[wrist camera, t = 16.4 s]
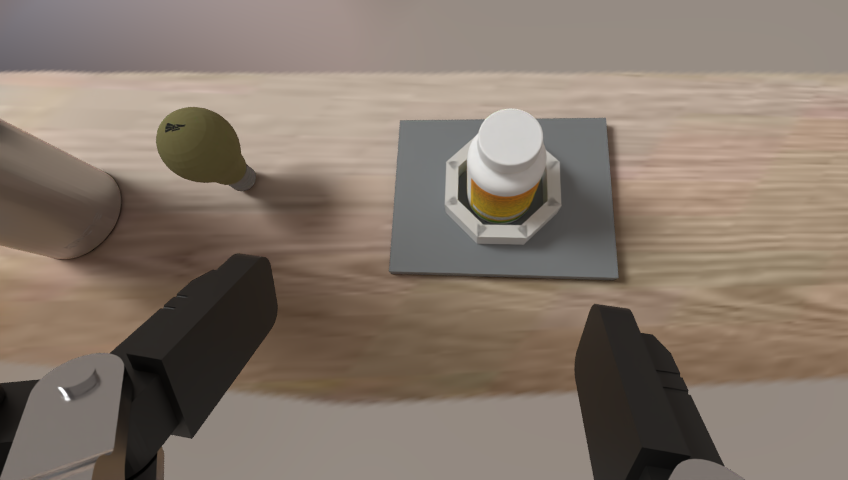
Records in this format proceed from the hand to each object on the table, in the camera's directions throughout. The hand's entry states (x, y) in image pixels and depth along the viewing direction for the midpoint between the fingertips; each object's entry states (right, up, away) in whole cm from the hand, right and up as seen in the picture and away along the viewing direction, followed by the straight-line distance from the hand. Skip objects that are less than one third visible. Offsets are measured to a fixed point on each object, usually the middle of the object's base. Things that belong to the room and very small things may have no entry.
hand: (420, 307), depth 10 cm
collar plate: (+7, +5, +25) cm, 27 cm away
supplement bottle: (+6, +5, +24) cm, 26 cm away
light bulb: (-16, +7, +28) cm, 33 cm away
